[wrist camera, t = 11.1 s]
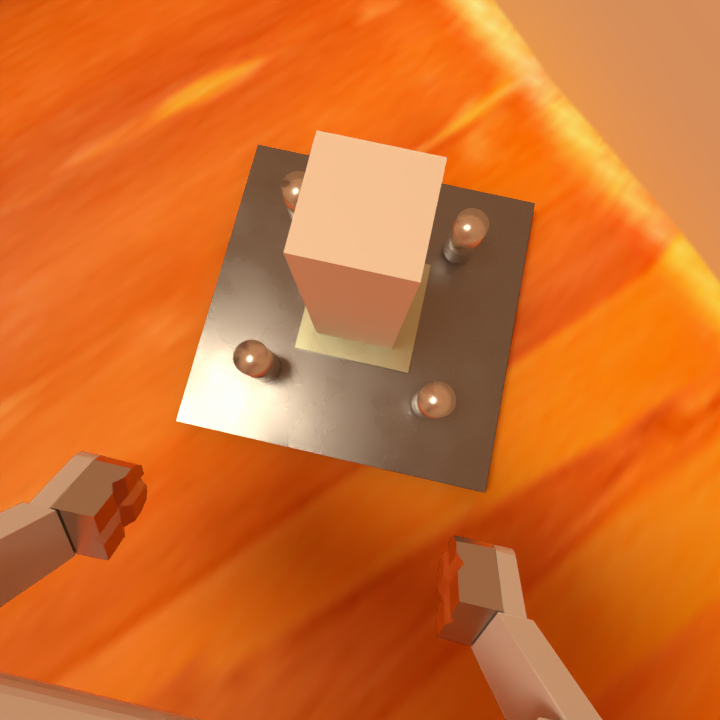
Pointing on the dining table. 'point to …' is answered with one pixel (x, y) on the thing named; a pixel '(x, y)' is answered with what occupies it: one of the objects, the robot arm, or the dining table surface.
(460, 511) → the dining table surface
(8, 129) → the dining table surface
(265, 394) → the grey square base plate
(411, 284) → the post
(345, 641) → the dining table surface
